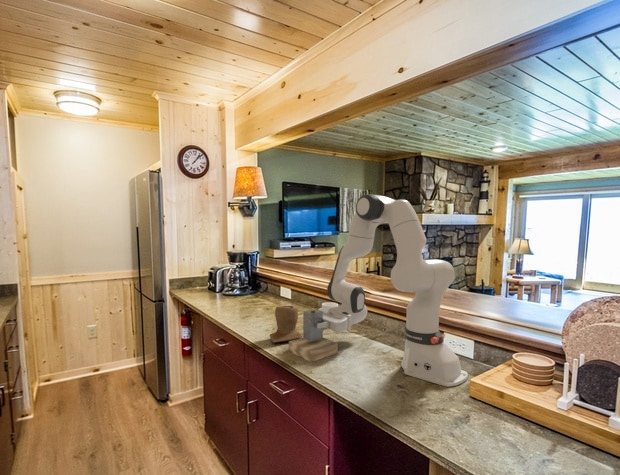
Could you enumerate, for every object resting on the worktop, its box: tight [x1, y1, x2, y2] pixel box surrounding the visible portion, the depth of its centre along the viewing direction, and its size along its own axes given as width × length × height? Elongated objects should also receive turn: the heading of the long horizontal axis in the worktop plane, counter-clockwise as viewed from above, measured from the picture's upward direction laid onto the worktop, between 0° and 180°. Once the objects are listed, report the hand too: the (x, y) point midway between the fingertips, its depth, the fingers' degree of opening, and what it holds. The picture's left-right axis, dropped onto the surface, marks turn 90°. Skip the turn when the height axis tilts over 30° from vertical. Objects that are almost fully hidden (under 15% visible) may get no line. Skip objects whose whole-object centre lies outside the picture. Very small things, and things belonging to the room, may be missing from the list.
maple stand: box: [288, 337, 339, 363], centre depth 141 cm, size 14×14×4 cm
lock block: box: [302, 307, 324, 342], centre depth 140 cm, size 5×6×12 cm
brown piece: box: [269, 305, 303, 344], centre depth 156 cm, size 15×12×15 cm
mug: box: [318, 301, 339, 313], centre depth 177 cm, size 12×8×10 cm
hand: (311, 324), depth 140 cm, fingers closed on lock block, 5 cm apart
